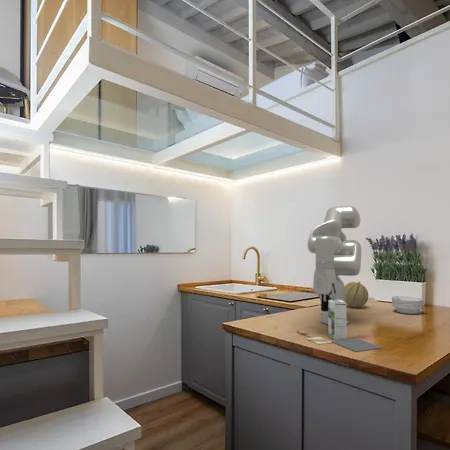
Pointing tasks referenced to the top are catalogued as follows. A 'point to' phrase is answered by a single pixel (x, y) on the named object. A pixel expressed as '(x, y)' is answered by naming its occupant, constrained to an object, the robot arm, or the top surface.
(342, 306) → the syrup box
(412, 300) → the paper bowls
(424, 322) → the top surface
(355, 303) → the cantaloupe
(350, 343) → the mat
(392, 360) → the top surface
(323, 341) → the turner
